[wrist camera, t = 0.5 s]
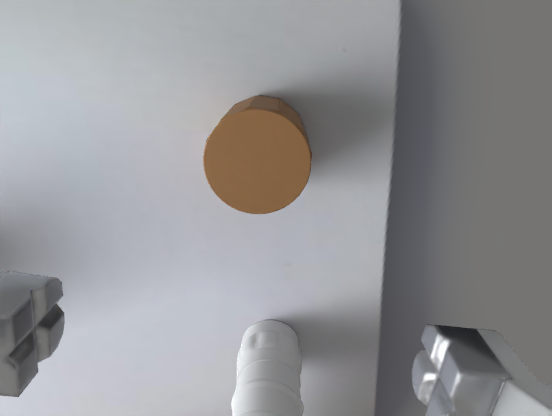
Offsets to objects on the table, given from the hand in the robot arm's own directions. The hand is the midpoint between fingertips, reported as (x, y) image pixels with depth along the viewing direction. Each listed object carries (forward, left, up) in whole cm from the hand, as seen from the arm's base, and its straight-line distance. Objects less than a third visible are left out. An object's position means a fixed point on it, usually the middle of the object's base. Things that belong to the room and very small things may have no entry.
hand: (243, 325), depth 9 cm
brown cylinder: (0, 0, -19) cm, 19 cm away
